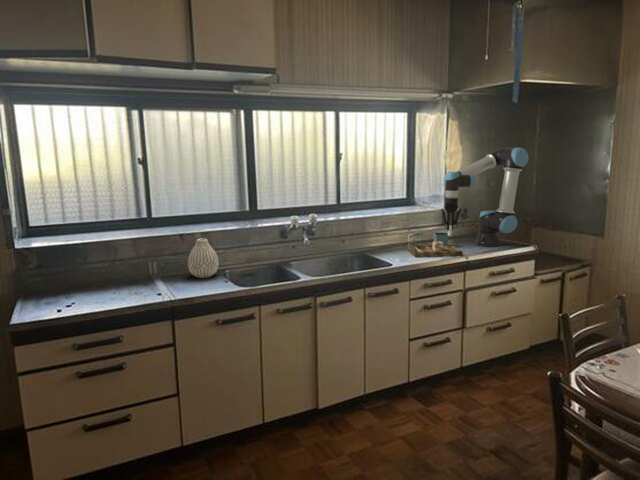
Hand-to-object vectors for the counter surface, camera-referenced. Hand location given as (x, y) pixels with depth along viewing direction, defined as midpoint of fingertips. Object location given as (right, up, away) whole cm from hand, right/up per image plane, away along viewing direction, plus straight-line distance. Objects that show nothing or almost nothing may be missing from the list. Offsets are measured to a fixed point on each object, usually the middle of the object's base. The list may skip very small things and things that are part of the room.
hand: (449, 235), depth 300 cm
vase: (-142, -22, -40) cm, 149 cm away
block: (-7, -9, +3) cm, 12 cm away
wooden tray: (-8, -11, +6) cm, 15 cm away
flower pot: (+1, -8, +25) cm, 26 cm away
